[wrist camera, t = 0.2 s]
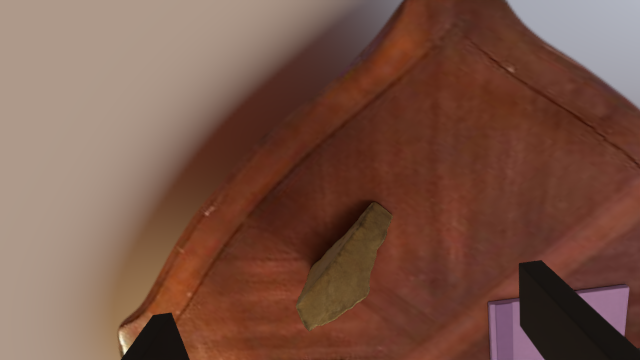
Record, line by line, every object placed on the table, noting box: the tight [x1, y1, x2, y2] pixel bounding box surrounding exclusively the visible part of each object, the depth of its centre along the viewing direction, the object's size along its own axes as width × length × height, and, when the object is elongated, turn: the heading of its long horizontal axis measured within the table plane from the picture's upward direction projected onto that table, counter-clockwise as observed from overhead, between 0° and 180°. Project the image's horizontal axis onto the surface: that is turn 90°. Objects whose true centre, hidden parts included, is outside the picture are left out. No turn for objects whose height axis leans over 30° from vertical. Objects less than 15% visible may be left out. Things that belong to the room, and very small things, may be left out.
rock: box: [296, 202, 393, 331], centre depth 30 cm, size 11×9×10 cm
